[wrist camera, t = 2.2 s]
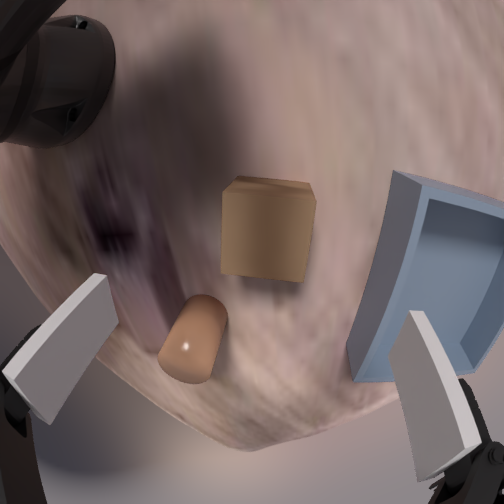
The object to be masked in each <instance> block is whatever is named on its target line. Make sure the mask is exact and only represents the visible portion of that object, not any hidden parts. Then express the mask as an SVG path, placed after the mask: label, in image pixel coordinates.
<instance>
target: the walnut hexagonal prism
mask: <svg viewBox="0 0 504 504" xmlns="http://www.w3.org/2000/svg"><path fill="white" fill-rule="evenodd" d="M315 209H316V199H315V196H314V194H313V191H312V188H311V186H310V183H305V182H297V181H288V180H279V179H268V178H257V177H245V176H237V177H236V179H235V180H234V181H233V182H232V183H231V184H230V185H229V186H228V187H227V188H226V189H225V190H224V191H223V192H222V225H221V273H222V274H230V275H238V276H247V277H255V278H264V279H273V280H282V281H291V282H301V283H303V282H304V277H305V271H306V266H307V260H308V254H309V248H310V242H311V235H312V229H313V223H314V216H315Z"/></svg>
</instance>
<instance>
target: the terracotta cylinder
mask: <svg viewBox="0 0 504 504" xmlns="http://www.w3.org/2000/svg"><path fill="white" fill-rule="evenodd" d="M227 319H228V313H227V310H226V308H225V307H224V305H223V304H222V303H221V302H220V301H218V300H217V299H215V298H214V297H211V296H208V295H194V296H192V297H190V298H189V299H188V300H187V301H186V302H185V304H184V306H183V308H182V310H181V312H180V314H179V316H178V317H177V319H176V321H175V323H174V325H173V327H172V329H171V331H170V333H169V335H168V337H167V339H166V340H165V342H164V344H163V346H162V348H161V350H160V352H159V354H158V363H159V365H160V367H161V368H162V369H163V370H164V371H165V372H166V373H167V374H168V375H169V376H171V377H173V378H174V379H176V380H179V381H181V382H184V383H189V384H200V383H203V382H206V381H207V380H208V379H209V378H210V376H211V372H212V369H213V366H214V362H215V359H216V356H217V352H218V349H219V346H220V342H221V339H222V336H223V333H224V329H225V326H226V323H227Z"/></svg>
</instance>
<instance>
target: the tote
mask: <svg viewBox="0 0 504 504" xmlns="http://www.w3.org/2000/svg"><path fill="white" fill-rule="evenodd" d="M409 310H411V311H424V313H425V315H426V317H427V318H428V320H429V322H430V324H431V326H432V328H433V329H434V331H435V333H436V335H437V337H438V339H439V341H440V343H441V345H442V347H443V349H444V351H445V353H446V355H447V357H448V359H449V361H450V363H451V365H452V367H453V369H454V372H455V374H456V376H457V375H465V374H471V373H475V371H476V370H477V368H478V367H479V366H480V364H481V363H482V362H483V360H484V359H485V357H486V356H487V354H488V353H489V351H490V350H491V348H492V346H493V345H494V343H495V342H496V340H497V338H498V337H499V335H500V334H501V332H502V330H503V328H504V202H501V201H499V200H496V199H493V198H490V197H488V196H485V195H482V194H479V193H476V192H473V191H470V190H466V189H463V188H460V187H457V186H453V185H450V184H446V183H443V182H439V181H436V180H432V179H428V178H424V177H420V176H416V175H412V174H408V173H404V172H399V171H395V170H393V174H392V180H391V185H390V191H389V196H388V201H387V206H386V211H385V215H384V220H383V224H382V229H381V233H380V237H379V241H378V245H377V249H376V253H375V256H374V260H373V264H372V267H371V271H370V274H369V278H368V281H367V284H366V287H365V291H364V294H363V297H362V300H361V303H360V306H359V309H358V312H357V315H356V318H355V321H354V324H353V326H352V329H351V332H350V335H349V337H348V340H347V342H346V346H347V351H348V357H349V362H350V368H351V374H352V380H353V382H393V381H395V379H394V376H393V372H392V369H391V365H390V362H389V359H388V354H389V352H390V350H391V348H392V346H393V344H394V342H395V340H396V338H397V336H398V334H399V332H400V330H401V328H402V326H403V323H404V321H405V319H406V317H407V314H408V312H409Z"/></svg>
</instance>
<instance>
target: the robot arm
mask: <svg viewBox="0 0 504 504" xmlns="http://www.w3.org/2000/svg"><path fill="white" fill-rule="evenodd" d="M65 1H66V0H0V143H2V142H8V143H14V144H19V145H24V146H29V147H34V148H51V147H55V146H59V145H64V144H66V143H69V142H71V141H72V140H74V139H76V138H77V137H78V136H79V135H81V134H82V133H83V132H84V131H85V130H86V129H87V127H88V126H89V125H90V124H91V123H92V121H93V120H94V118H95V117H96V115H97V114H98V112H99V110H100V108H101V106H102V104H103V102H104V100H105V98H106V95H107V93H108V90H109V87H110V83H111V80H112V75H113V70H114V59H115V54H114V45H113V40H112V37H111V35H110V33H109V31H108V29H107V28H106V27H105V26H104V25H103V24H102V23H101V22H99V21H97V20H94V19H91V18H89V17H86V16H82V15H68V16H60V17H54V18H50V16H51V15H52V14H53V13H54V12H55V11H56V10H57V9H58V8H59V7H60V6H61V5H62V4H63V3H64V2H65ZM118 323H119V321H118V317H117V314H116V310H115V307H114V303H113V299H112V295H111V291H110V286H109V282H108V278H107V275H103V274H97V273H94V274H93V275H92V276H90V277H89V278H88V279H87V280H86V281H85V282H84V283H83V284H82V285H81V286H80V287H79V288H78V289H77V290H76V291H75V292H74V293H73V294H72V295H71V296H70V297H69V298H68V299H67V300H66V301H65V302H64V303H63V304H62V305H61V306H60V307H59V308H58V309H57V310H56V311H55V312H54V313H53V314H52V315H51V316H50V317H49V318H48V319H47V320H46V321H45V322H44V323H43V324H42V325H39V326H37V327H36V328H34V329H32V330H31V331H30V332H29V333H28V334H27V335H26V336H25V337H24V340H22V341H21V342H20V343H19V344H18V346H16V348H15V349H14V350H13V351H12V352H11V353H10V355H9V356H8V357H7V358H6V359H5V361H4V362H3V363H2V364H1V366H0V504H47V501H46V497H45V494H44V490H43V486H42V482H41V478H40V474H39V470H38V465H37V460H36V454H35V448H34V442H33V434H32V425H31V418H30V414H29V413H28V411H29V410H30V409H31V410H32V411H33V412H34V413H35V415H36V416H37V417H38V418H40V419H41V420H43V421H45V422H46V423H48V424H49V425H50V424H51V423H52V421H53V420H54V418H55V417H56V415H57V413H58V412H59V410H60V408H61V407H62V405H63V404H64V402H65V400H66V399H67V397H68V396H69V394H70V393H71V391H72V389H73V388H74V386H75V385H76V383H77V382H78V380H79V379H80V377H81V376H82V374H83V373H84V371H85V370H86V368H87V367H88V365H89V364H90V362H91V361H92V360H93V358H94V357H95V355H96V354H97V352H98V351H99V349H100V348H101V347H102V345H103V344H104V342H105V341H106V340H107V338H108V337H109V335H110V334H111V333H112V331H113V330H114V329H115V327H116V326H117V324H118ZM388 359H389V362H390V365H391V369H392V372H393V376H394V379H395V382H396V386H397V390H398V393H399V397H400V401H401V405H402V409H403V412H404V416H405V421H406V425H407V429H408V434H409V439H410V443H411V448H412V453H413V458H414V464H415V470H416V476H417V482H421V481H424V480H428V479H431V478H435V477H436V476H437V475H439V474H440V473H442V472H444V474H445V476H444V477H443V478H441V479H440V480H438V481H436V482H435V483H433V484H432V485H431V486H430V487H429V489H432V488H434V487H436V486H437V485H438V486H437V488H436V489H435V490H434V491H435V492H434V494H433V496H432V497H431V499H430V501H429V503H428V504H504V494H502V489H504V446H503V445H502V444H501V443H499V442H495V441H494V442H492V440H491V438H490V436H489V433H488V430H487V427H486V424H485V421H484V419H483V416H482V414H481V411H480V409H479V408H478V407H479V406H478V404H477V401H476V400H475V396H474V394H473V392H472V389H471V387H470V386H469V385H468V384H467V383H466V381H465V380H464V379H458V378H457V376H456V374H455V372H454V369H453V367H452V365H451V363H450V361H449V359H448V357H447V355H446V353H445V351H444V349H443V347H442V345H441V343H440V341H439V339H438V337H437V335H436V333H435V331H434V329H433V328H432V326H431V324H430V322H429V320H428V318H427V317H426V315H425V313H424V311H411V310H409V312H408V314H407V317H406V319H405V321H404V323H403V326H402V328H401V330H400V332H399V334H398V336H397V338H396V340H395V342H394V344H393V346H392V348H391V350H390V352H389V354H388Z"/></svg>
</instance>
